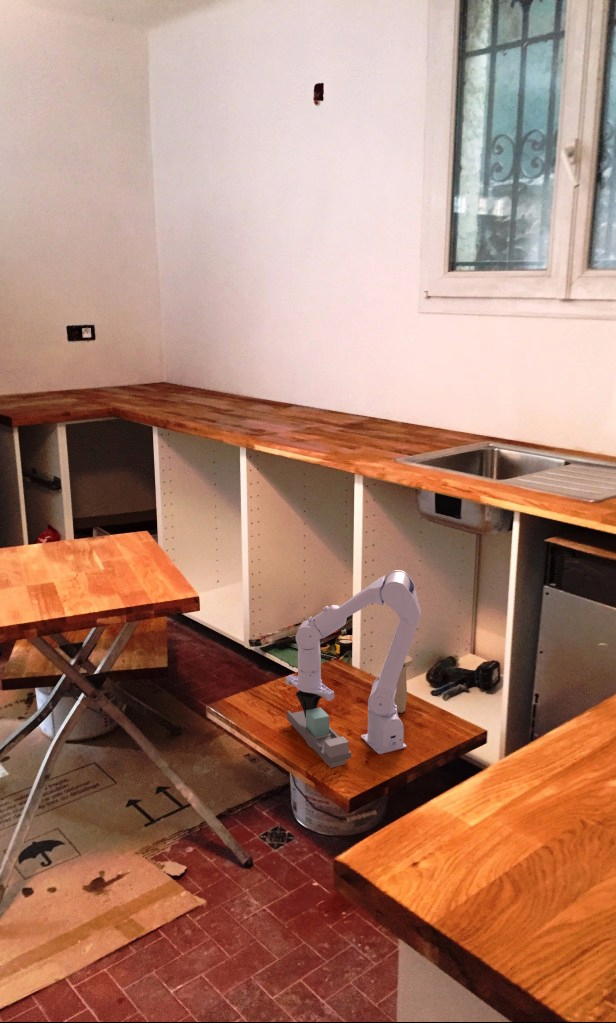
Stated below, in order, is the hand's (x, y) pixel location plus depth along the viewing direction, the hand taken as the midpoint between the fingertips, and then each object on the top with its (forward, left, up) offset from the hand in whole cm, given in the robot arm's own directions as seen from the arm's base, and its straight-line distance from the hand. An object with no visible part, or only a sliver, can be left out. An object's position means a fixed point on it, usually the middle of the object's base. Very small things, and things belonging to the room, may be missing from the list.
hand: (309, 717), depth 216 cm
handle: (+1, -27, -5) cm, 27 cm away
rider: (-5, 0, -2) cm, 5 cm away
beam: (-5, 0, -5) cm, 7 cm away
